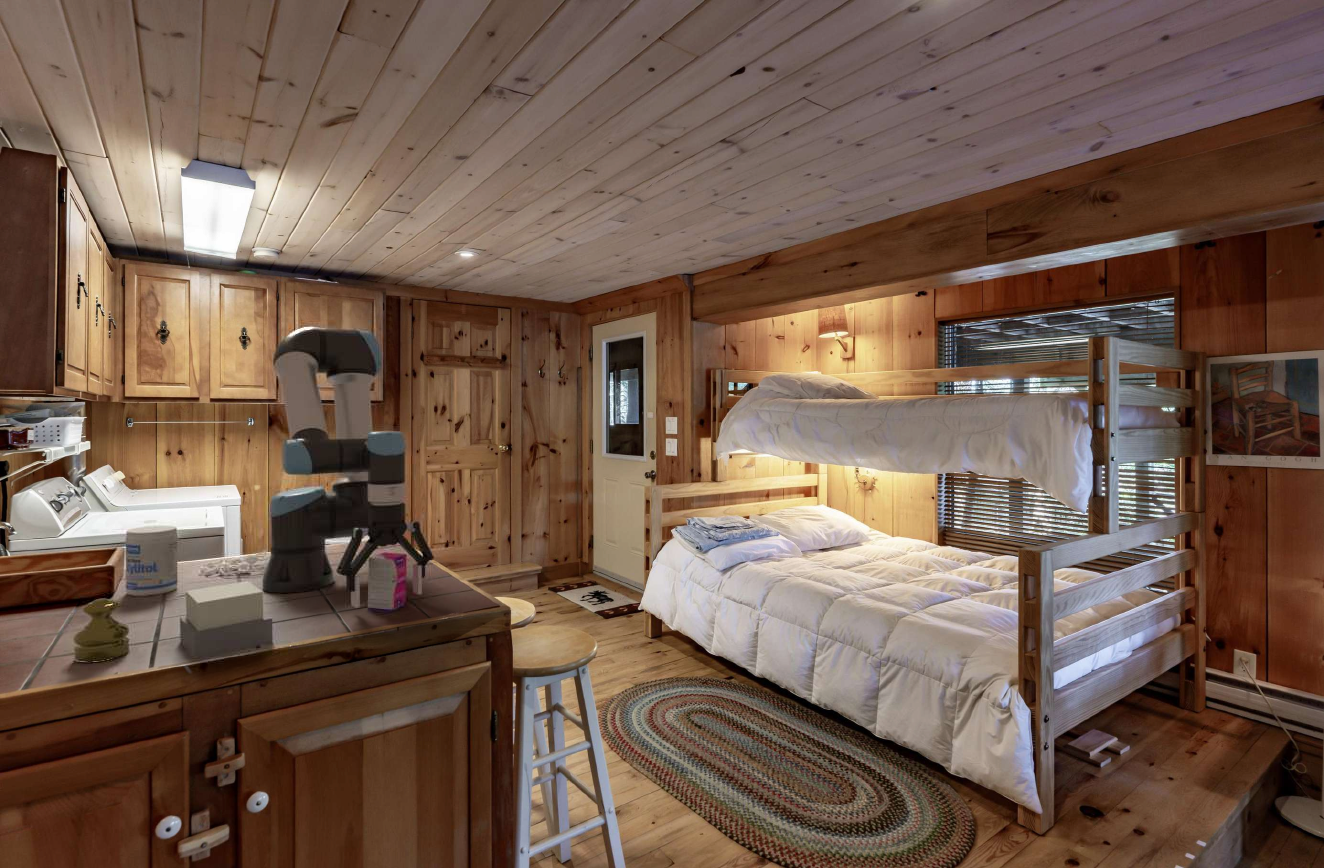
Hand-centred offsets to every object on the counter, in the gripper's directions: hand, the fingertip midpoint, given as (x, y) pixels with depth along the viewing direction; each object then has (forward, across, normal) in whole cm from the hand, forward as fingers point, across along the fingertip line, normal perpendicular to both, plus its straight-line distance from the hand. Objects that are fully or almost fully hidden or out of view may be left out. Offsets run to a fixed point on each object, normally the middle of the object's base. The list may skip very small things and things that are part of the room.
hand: (387, 599), depth 144 cm
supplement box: (+2, 0, 0) cm, 2 cm away
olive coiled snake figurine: (+2, -47, +7) cm, 48 cm away
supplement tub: (+2, -34, +49) cm, 60 cm away
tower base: (+2, -30, 0) cm, 30 cm away
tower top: (-3, -30, 0) cm, 30 cm away
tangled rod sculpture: (+2, -14, +56) cm, 58 cm away
